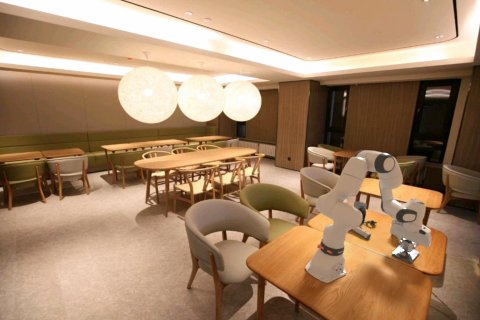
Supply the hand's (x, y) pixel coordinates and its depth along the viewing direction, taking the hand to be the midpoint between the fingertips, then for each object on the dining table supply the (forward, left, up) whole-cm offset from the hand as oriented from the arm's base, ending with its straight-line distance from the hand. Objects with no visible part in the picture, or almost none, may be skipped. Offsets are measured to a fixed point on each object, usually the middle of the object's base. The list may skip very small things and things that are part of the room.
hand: (407, 246), depth 141 cm
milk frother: (+20, +34, -6) cm, 40 cm away
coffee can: (+23, +10, -6) cm, 26 cm away
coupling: (0, 0, -2) cm, 2 cm away
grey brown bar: (0, +34, -6) cm, 34 cm away
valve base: (0, 0, -6) cm, 6 cm away
